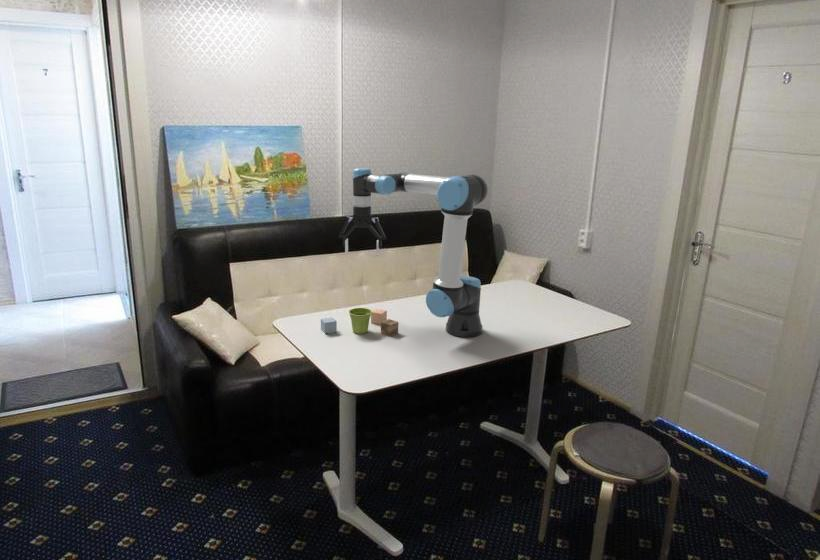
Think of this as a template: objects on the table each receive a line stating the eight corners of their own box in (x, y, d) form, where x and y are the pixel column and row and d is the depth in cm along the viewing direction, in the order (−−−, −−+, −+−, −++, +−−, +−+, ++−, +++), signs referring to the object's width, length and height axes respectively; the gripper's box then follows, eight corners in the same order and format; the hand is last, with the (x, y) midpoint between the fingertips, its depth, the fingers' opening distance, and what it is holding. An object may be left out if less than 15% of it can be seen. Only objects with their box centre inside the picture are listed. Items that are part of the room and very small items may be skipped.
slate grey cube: (336, 332, 236) (336, 321, 235) (324, 334, 234) (324, 322, 233) (332, 328, 241) (332, 317, 239) (320, 330, 239) (320, 318, 237)
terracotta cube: (386, 321, 251) (386, 310, 250) (381, 325, 246) (381, 313, 245) (376, 319, 253) (376, 308, 251) (371, 323, 248) (371, 312, 247)
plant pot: (370, 336, 234) (371, 315, 231) (347, 335, 234) (347, 314, 231) (372, 327, 243) (372, 308, 240) (350, 327, 243) (350, 307, 240)
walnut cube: (398, 333, 238) (398, 321, 236) (390, 336, 234) (390, 325, 232) (388, 330, 240) (388, 319, 239) (380, 333, 237) (380, 322, 235)
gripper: (392, 205, 249) (392, 254, 254) (334, 203, 251) (335, 251, 256) (390, 207, 241) (389, 257, 247) (331, 205, 243) (331, 255, 249)
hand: (362, 254), depth 252 cm, fingers open, 13 cm apart
